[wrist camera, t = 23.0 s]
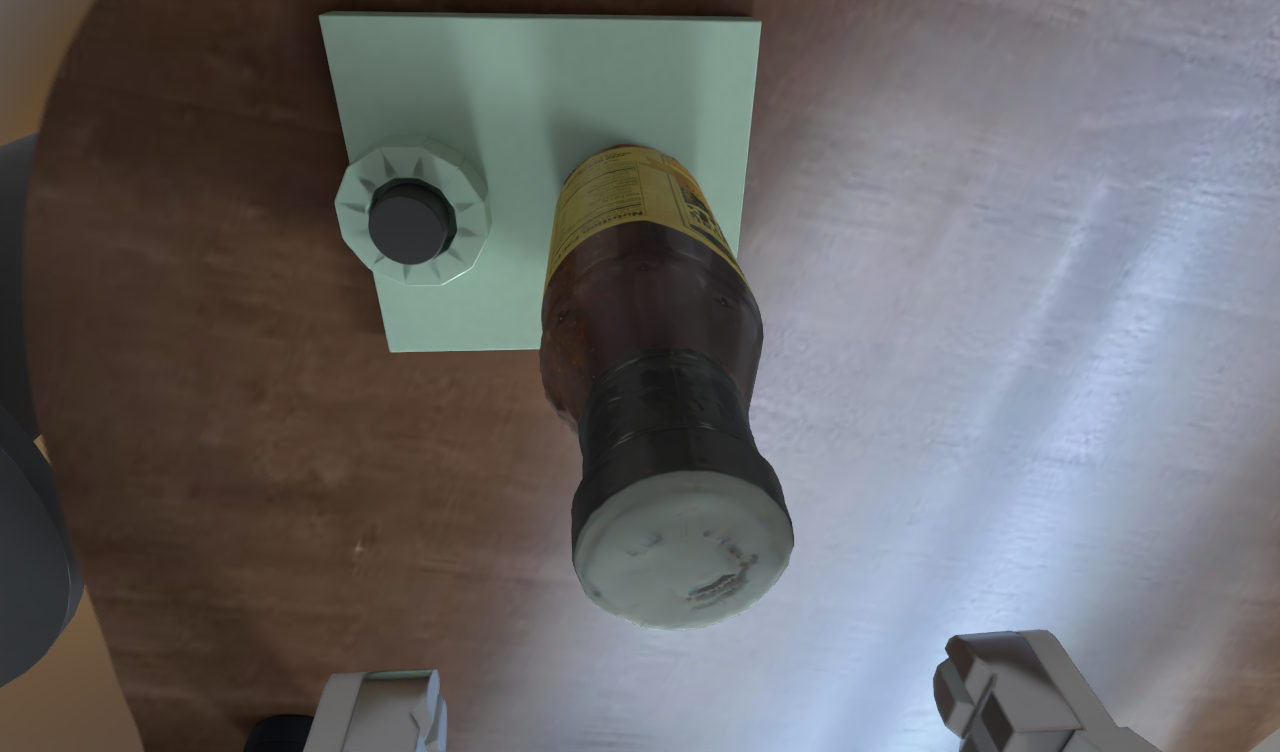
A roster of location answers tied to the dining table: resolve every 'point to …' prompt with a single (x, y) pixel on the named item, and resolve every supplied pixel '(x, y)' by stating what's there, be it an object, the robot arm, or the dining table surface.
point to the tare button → (409, 224)
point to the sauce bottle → (658, 397)
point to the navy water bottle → (280, 734)
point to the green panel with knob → (521, 143)
